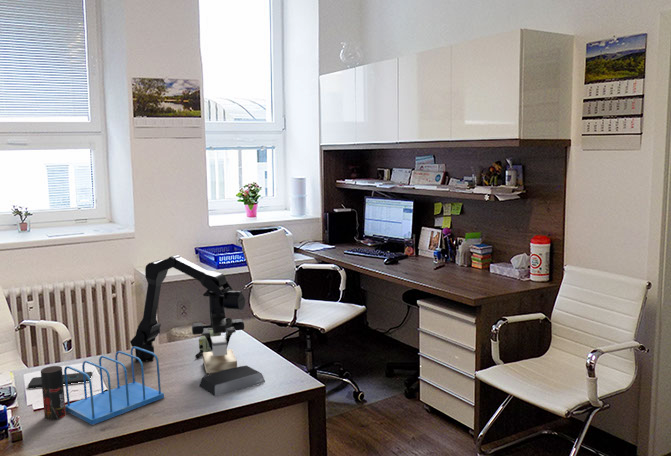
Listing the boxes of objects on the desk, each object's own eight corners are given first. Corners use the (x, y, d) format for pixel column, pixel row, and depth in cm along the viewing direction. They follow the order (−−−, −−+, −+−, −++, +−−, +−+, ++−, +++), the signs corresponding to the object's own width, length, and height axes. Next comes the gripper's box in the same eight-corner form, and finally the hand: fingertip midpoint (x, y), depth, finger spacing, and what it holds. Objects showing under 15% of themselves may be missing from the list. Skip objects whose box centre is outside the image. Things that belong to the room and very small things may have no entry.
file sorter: (135, 386, 213) (132, 343, 211) (164, 399, 201) (162, 353, 199) (64, 410, 194) (60, 363, 192) (92, 426, 182) (88, 376, 180)
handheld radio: (222, 339, 263) (201, 359, 238) (215, 339, 263) (193, 359, 239) (221, 324, 262) (199, 343, 238) (214, 324, 263) (191, 343, 238)
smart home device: (89, 379, 217) (27, 385, 212) (89, 383, 217) (27, 390, 212) (92, 370, 224) (32, 377, 220) (92, 375, 225) (33, 381, 220)
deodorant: (48, 412, 192) (45, 366, 190) (68, 411, 193) (64, 365, 191) (41, 421, 186) (37, 373, 184) (61, 419, 187) (57, 372, 185)
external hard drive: (266, 383, 213) (266, 372, 213) (215, 398, 202) (215, 386, 201) (247, 373, 224) (246, 362, 223) (198, 387, 212) (197, 375, 211)
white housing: (213, 356, 224) (212, 343, 223) (211, 349, 232) (210, 336, 231) (227, 354, 225) (226, 341, 225) (224, 348, 233) (224, 335, 232)
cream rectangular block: (206, 375, 221) (206, 364, 221) (203, 362, 234) (202, 352, 234) (237, 371, 224) (236, 361, 224) (232, 359, 237) (231, 349, 237)
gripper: (192, 316, 216) (194, 358, 218) (245, 311, 221) (247, 352, 223) (190, 308, 227) (192, 349, 229) (241, 303, 232) (242, 343, 234)
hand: (218, 348), depth 228 cm, fingers closed on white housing, 5 cm apart
